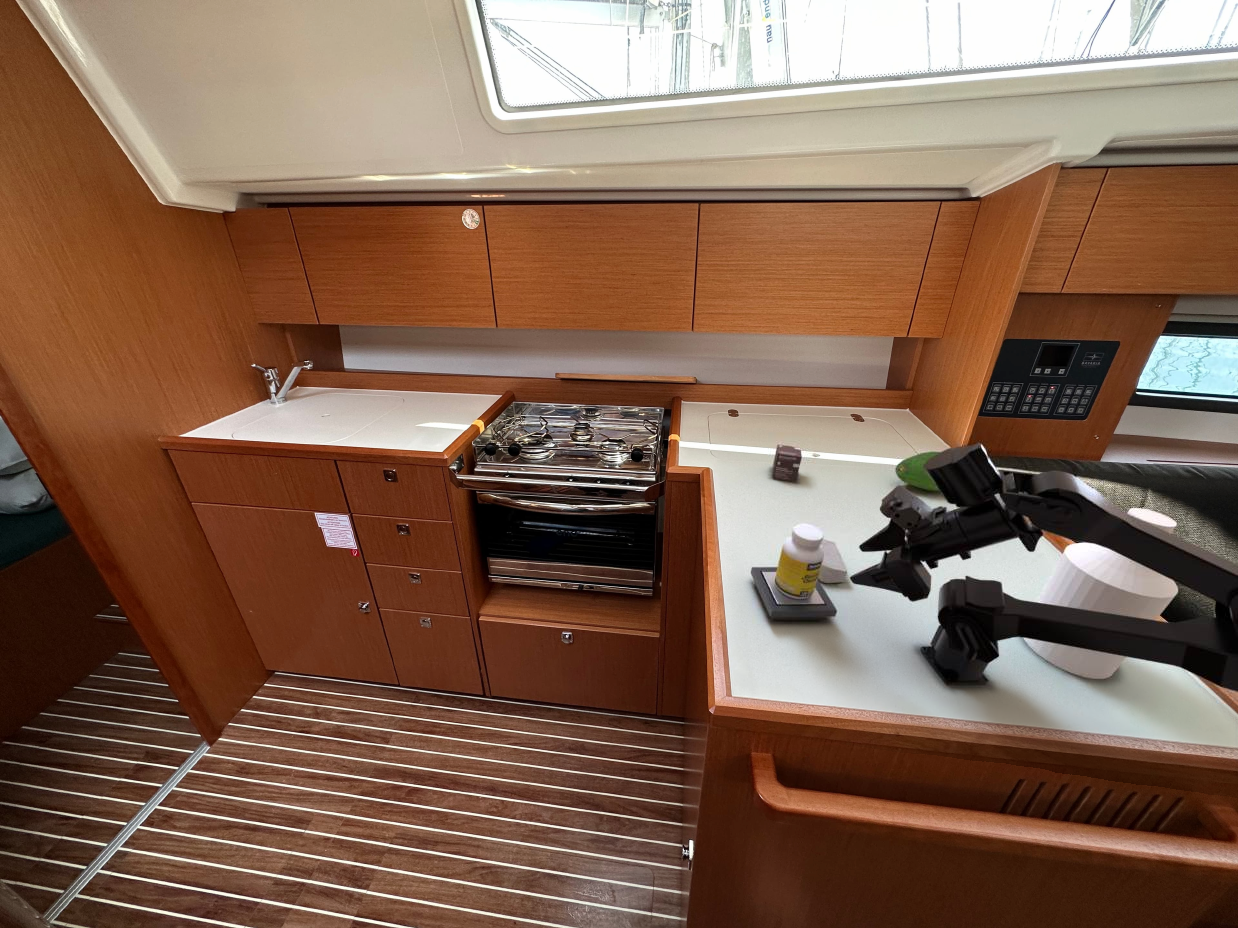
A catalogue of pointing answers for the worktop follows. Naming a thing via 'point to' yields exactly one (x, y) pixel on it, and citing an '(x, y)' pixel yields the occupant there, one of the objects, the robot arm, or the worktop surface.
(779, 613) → the scale
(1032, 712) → the worktop surface
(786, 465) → the box
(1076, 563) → the bottle
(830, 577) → the pale grey rock
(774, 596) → the pan
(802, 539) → the pill bottle
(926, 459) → the fruit
